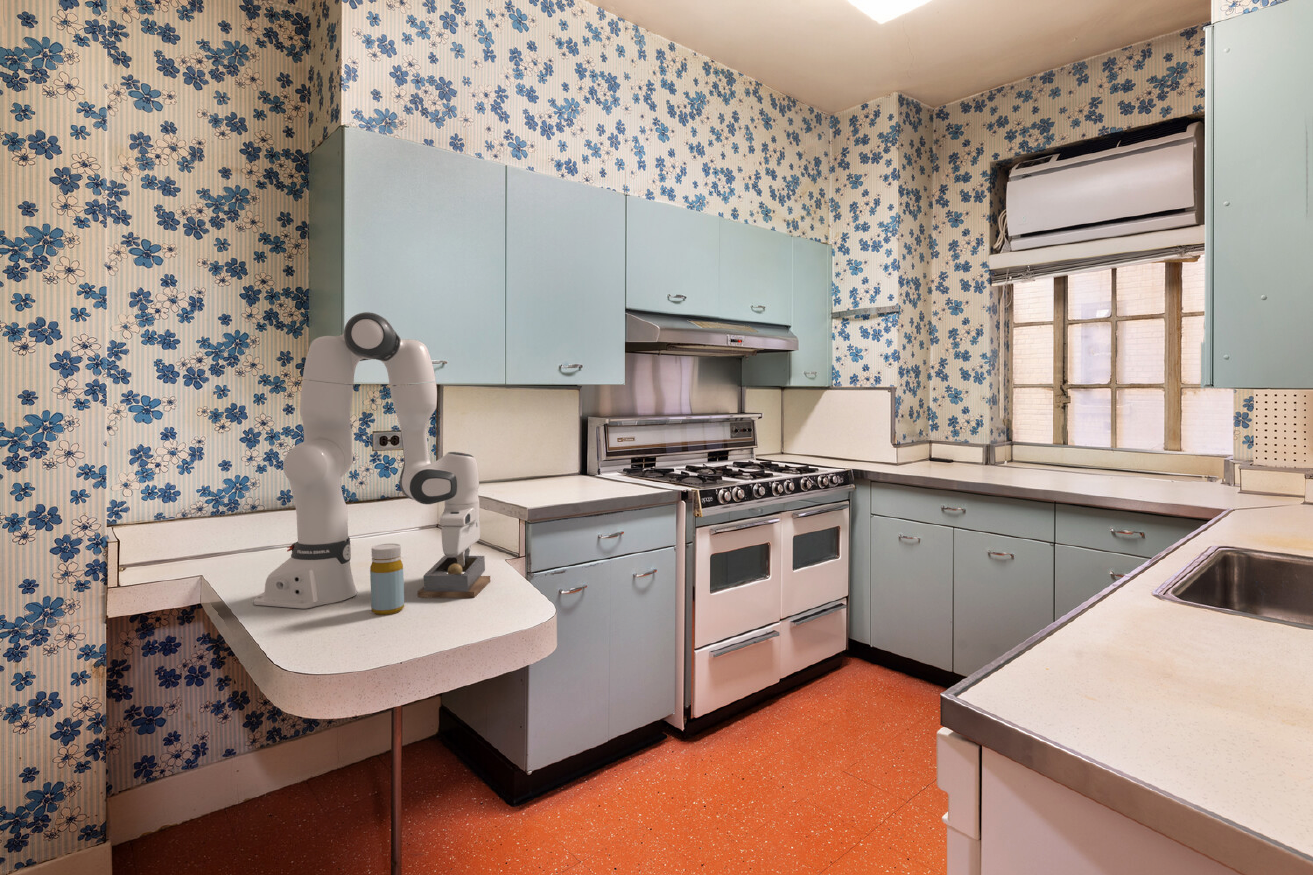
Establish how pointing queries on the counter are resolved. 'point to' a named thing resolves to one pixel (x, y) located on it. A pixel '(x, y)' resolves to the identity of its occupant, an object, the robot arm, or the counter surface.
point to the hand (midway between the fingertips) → (463, 564)
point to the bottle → (386, 579)
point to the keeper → (470, 594)
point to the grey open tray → (454, 582)
